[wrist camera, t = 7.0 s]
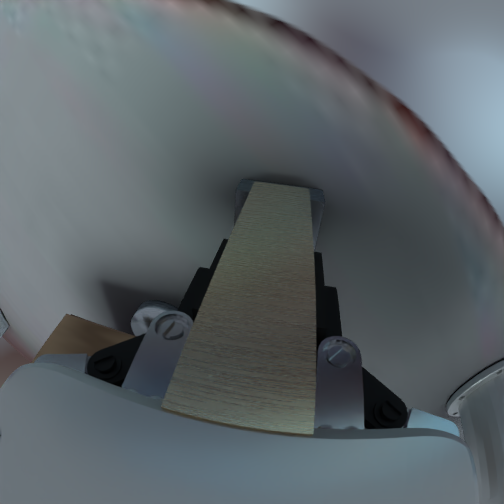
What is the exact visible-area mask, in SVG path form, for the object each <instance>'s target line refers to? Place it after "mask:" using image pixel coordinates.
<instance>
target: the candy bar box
mask: <svg viewBox="0 0 504 504" xmlns="http://www.w3.org/2000/svg"><path fill="white" fill-rule="evenodd" d="M8 328H9V324H8V322H7V320H6V318H5V317H4V315H3V313H2V312H1V310H0V338H1V337H2V336H3V334H4V333H5V332H6V330H7V329H8Z"/></svg>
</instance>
